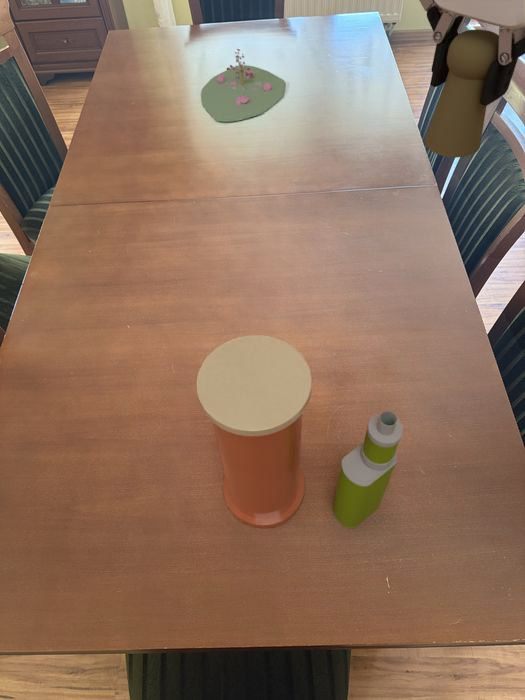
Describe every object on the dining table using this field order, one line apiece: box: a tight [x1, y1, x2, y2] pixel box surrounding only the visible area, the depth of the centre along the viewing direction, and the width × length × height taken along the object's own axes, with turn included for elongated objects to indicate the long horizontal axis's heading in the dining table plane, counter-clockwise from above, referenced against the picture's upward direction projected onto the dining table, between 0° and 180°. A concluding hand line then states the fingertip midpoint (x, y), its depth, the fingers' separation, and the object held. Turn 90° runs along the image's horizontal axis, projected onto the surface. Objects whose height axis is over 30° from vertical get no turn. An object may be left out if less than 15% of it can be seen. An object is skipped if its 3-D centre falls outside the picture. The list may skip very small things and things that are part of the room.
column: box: [196, 334, 313, 529], centre depth 54 cm, size 10×10×24 cm
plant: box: [200, 48, 286, 123], centre depth 120 cm, size 25×21×9 cm
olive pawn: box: [423, 29, 499, 158], centre depth 53 cm, size 6×6×11 cm
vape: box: [332, 410, 404, 529], centre depth 53 cm, size 4×6×20 cm, turn 127°
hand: (465, 89), depth 52 cm, fingers closed on olive pawn, 5 cm apart
